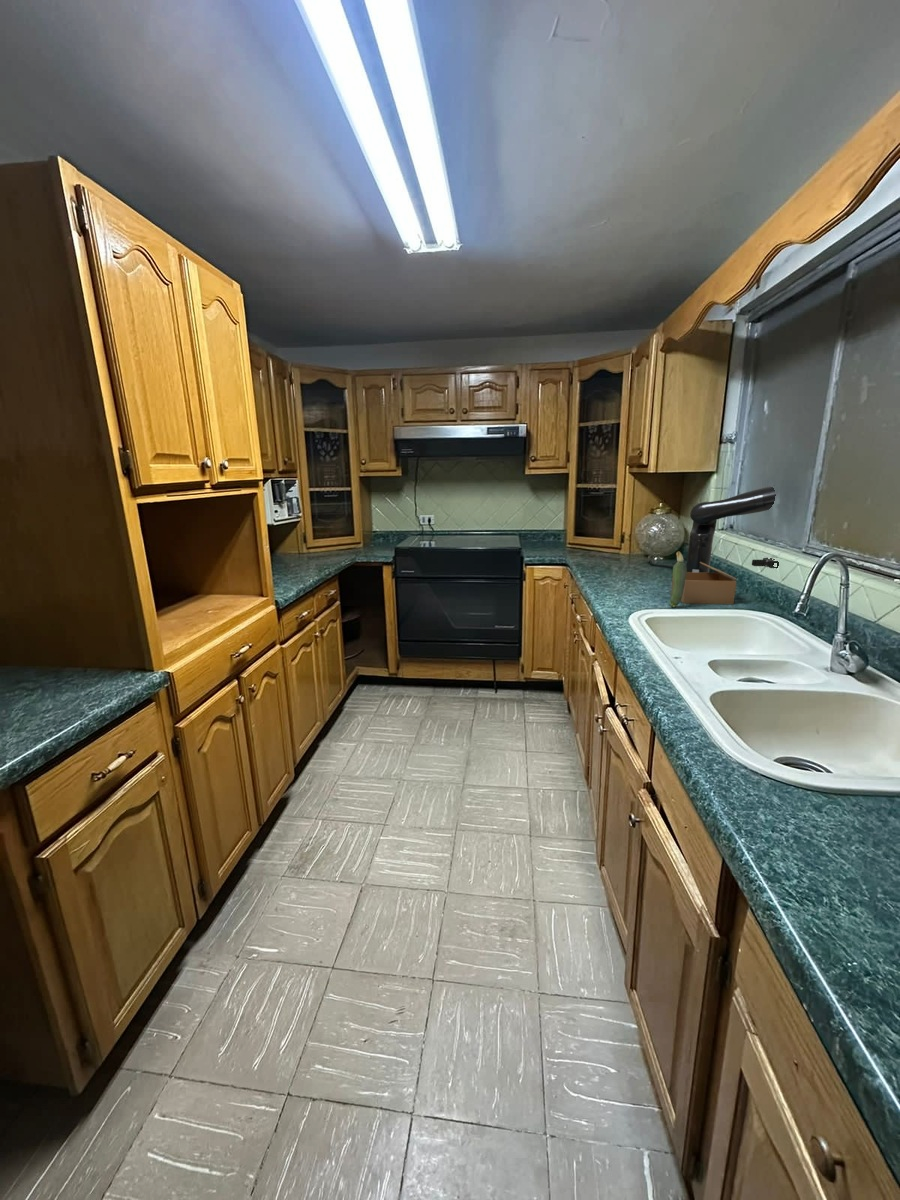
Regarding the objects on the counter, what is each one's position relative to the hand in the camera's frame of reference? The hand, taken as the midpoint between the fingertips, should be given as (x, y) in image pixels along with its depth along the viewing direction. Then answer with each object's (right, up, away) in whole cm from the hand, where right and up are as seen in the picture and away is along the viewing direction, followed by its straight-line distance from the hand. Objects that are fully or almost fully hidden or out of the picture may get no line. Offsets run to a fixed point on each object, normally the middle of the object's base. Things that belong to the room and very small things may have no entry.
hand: (752, 562), depth 175 cm
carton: (-16, -13, +6) cm, 21 cm away
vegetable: (-31, -16, -6) cm, 35 cm away
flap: (-12, -3, +2) cm, 12 cm away
